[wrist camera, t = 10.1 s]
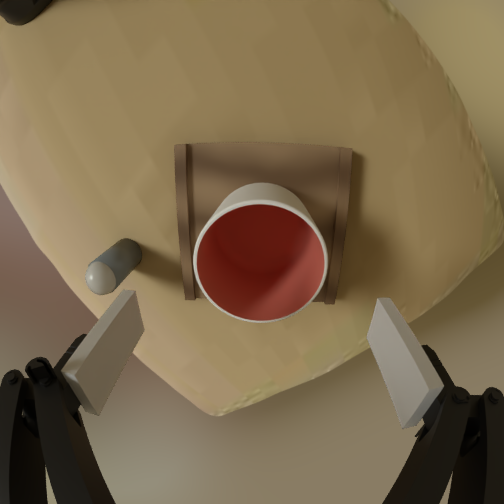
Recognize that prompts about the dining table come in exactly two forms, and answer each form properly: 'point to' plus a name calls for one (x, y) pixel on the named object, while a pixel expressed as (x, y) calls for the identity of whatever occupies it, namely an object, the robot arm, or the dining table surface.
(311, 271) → the cup
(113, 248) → the shaker
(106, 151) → the dining table surface
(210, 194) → the board
